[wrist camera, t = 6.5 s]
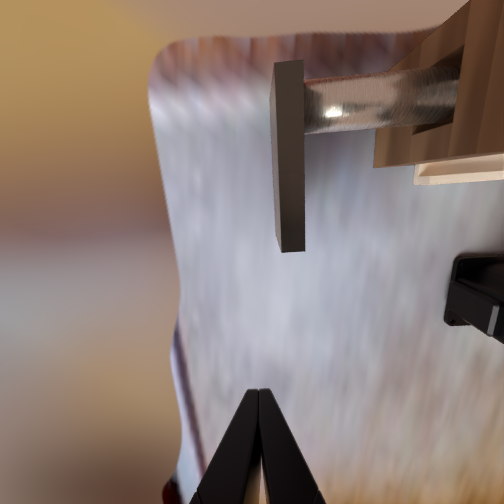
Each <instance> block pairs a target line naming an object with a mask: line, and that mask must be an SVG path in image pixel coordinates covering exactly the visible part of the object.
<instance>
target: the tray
mask: <svg viewBox="0 0 504 504" xmlns="http://www.w3.org/2000/svg"><path fill="white" fill-rule="evenodd" d="M503 179H504V154H497V155H489V156H481V157H473V158H465V159H457V160H449V161H441V162H433V163H425V164H416V165H415V173H414V182H413V185H434V184H448V183H461V182H475V181H489V180H503Z"/></svg>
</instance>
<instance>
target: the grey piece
mask: <svg viewBox="0 0 504 504" xmlns="http://www.w3.org/2000/svg"><path fill="white" fill-rule="evenodd" d="M460 72H461V65H453V66H442V67H432V68H421V69H411V70H400V71H390V72H379V73H369V74H359V75H348V76H338V77H327V78H317V79H306V80H304V67H303V60H296V61H286V62H276V63H274V68H273V76H272V84H271V92H270V121H271V144H272V166H273V188H274V210H275V232H276V237H277V240H278V243H279V247H280V250H281V253H285V252H301V251H305V174H304V134H315V133H327V132H339V131H351V130H362V129H374V128H386V127H398V126H410V125H421V124H433V123H442V122H445V121H447V120H448V119H450V118H451V117H452V116H453V115H454V112H455V105H456V99H457V92H458V85H459V79H460Z"/></svg>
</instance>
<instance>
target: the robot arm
mask: <svg viewBox="0 0 504 504" xmlns="http://www.w3.org/2000/svg"><path fill="white" fill-rule="evenodd" d="M462 262H463V263H462ZM461 263H462V264H461ZM451 319H452V320H451ZM450 320H451V321H450ZM444 322H445V323H446V324H448V325H449V326H465V325H472V326H474V327H475V328H477V329H478V330H480V331H481V332H483V333H484V334H486V335H487V336H490V337H493V338H495V339H496V340H498V341H499V342H501V343H502V344H504V254H503V255H485V256H468V257H458V258H457V259H456V260H455V261H454V265H453V270H452V276H451V281H450V287H449V293H448V298H447V304H446V310H445V315H444ZM261 458H262V469H263V478H264V486H265V495H266V503H267V504H326V502H325V500H324V498H323V496H322V494H321V492H320V491H319V490H318V486H317V484H316V482H315V480H314V478H313V475H312V473H311V471H310V469H309V467H308V465H307V463H306V461H305V459H304V457H303V455H302V453H301V451H300V449H299V447H298V445H297V443H296V441H295V438H294V436H293V434H292V432H291V430H290V428H289V426H288V424H287V422H286V420H285V418H284V416H283V414H282V412H281V410H280V408H279V406H278V404H277V402H276V399H275V397H274V395H273V393H272V391H271V390H270V389H269V388H263V389H259V390H258V389H248V390H247V391H246V393H245V395H244V397H243V399H242V401H241V403H240V405H239V407H238V409H237V410H236V412H235V414H234V416H233V418H232V420H231V422H230V424H229V426H228V428H227V430H226V432H225V434H224V436H223V438H222V440H221V442H220V444H219V446H218V448H217V450H216V452H215V454H214V456H213V458H212V460H211V462H210V464H209V466H208V468H207V470H206V472H205V474H204V476H203V478H202V480H201V482H200V484H199V486H198V487H197V492H195V493H194V495H193V497H192V499H191V501H190V503H189V504H259V493H260V479H261Z"/></svg>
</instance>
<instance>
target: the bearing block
mask: <svg viewBox="0 0 504 504" xmlns="http://www.w3.org/2000/svg"><path fill="white" fill-rule="evenodd" d="M453 65H461V72H460V79H459V85H458V92H457V99H456V105H455V112H454V115H453V116H452V117H451V118H450V119H448V120H447V121H445V122H442V123H433V124H421V125H410V126H398V127H386V128H376V137H375V152H374V166H373V168H380V167H393V166H406V165H416V164H425V163H433V162H441V161H449V160H457V159H465V158H473V157H481V156H489V155H497V154H504V0H469V1H468V2H467V3H466V4H465V5H464V6H462V7H461V8H460V9H459V10H458V11H457V12H456V13H454V15H452V16H451V17H450V18H449V19H448V20H446V21H445V22H444V23H443V24H442V25H441V26H440V27H438V28H437V29H436V30H435V31H434V32H433V33H432V34H430V35H429V36H428V37H427V38H426V39H425V40H423V41H422V42H421V43H420V44H419V45H418V46H417V47H415V48H414V49H413V50H412V51H411V52H410V53H409V54H407V55H406V56H405V57H404V58H403V59H402V60H401V61H399V62H398V63H397V64H396V65H395V66H394V67H393V68H391V69H390V70H389V71H388V72H390V71H400V70H411V69H421V68H432V67H442V66H453Z"/></svg>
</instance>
